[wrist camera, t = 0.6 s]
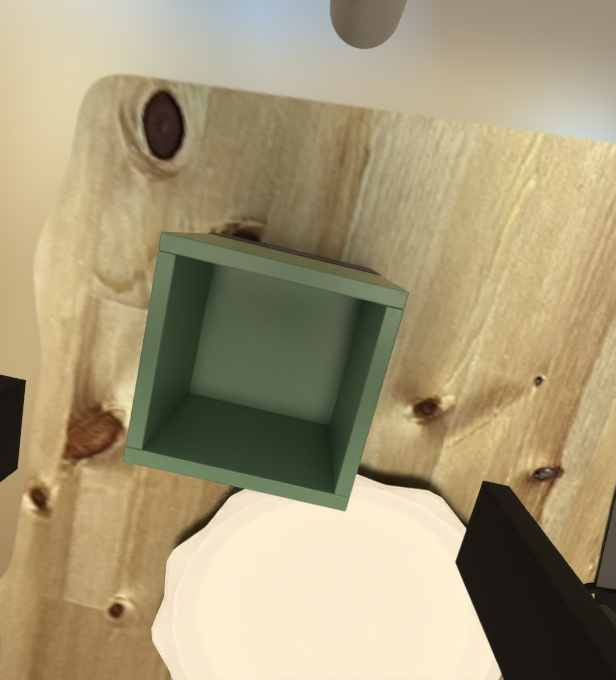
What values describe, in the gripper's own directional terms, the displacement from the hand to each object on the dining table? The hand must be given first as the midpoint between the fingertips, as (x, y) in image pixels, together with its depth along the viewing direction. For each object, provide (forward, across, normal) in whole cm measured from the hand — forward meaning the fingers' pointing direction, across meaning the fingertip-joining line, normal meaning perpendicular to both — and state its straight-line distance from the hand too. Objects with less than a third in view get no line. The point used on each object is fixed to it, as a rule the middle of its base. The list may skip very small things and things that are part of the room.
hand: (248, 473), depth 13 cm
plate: (+22, +9, -24) cm, 34 cm away
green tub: (+17, -1, 0) cm, 17 cm away
